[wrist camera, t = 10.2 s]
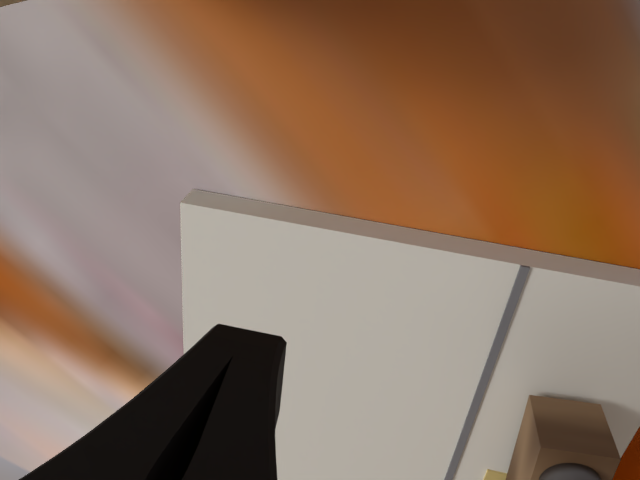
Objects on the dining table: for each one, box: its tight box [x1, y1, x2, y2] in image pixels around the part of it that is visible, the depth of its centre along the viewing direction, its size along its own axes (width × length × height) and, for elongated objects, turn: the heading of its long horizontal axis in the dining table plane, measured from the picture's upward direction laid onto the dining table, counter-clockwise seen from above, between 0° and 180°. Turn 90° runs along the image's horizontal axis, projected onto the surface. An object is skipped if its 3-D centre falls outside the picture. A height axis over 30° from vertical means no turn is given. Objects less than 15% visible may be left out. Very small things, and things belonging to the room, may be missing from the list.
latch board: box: [180, 189, 640, 480], centre depth 23 cm, size 18×18×1 cm
